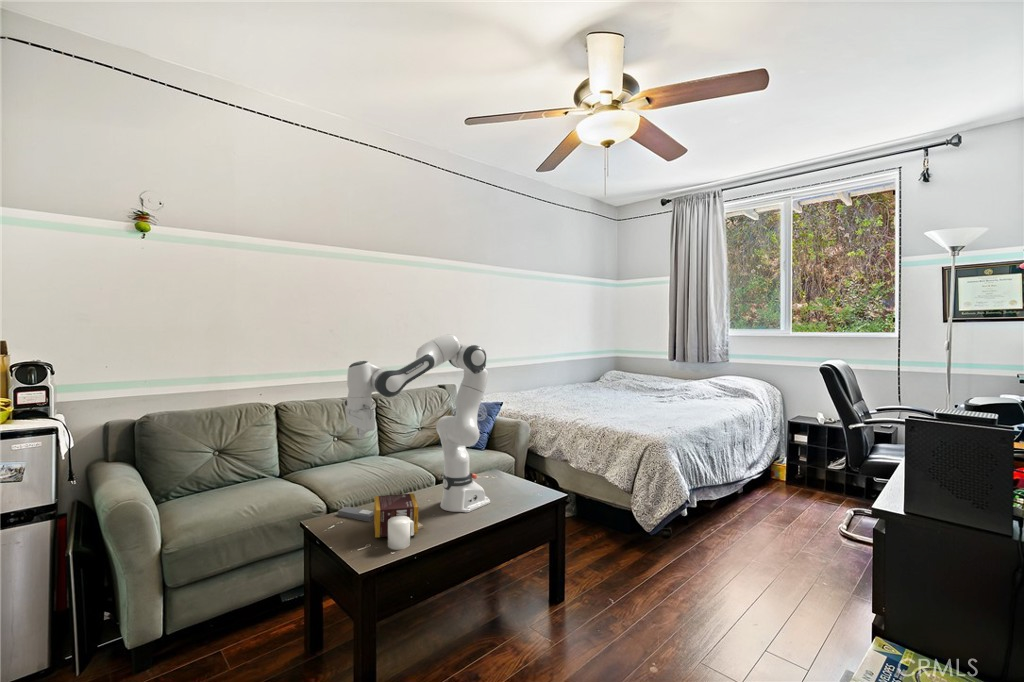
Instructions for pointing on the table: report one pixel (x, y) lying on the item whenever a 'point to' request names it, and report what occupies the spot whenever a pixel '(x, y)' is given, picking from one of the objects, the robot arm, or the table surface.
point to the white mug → (399, 532)
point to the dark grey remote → (356, 513)
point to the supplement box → (394, 511)
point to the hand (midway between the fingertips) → (360, 438)
